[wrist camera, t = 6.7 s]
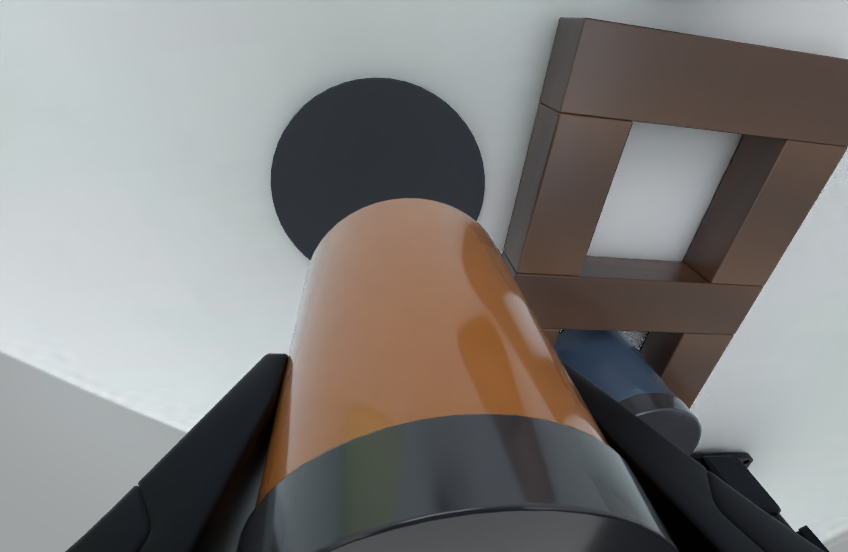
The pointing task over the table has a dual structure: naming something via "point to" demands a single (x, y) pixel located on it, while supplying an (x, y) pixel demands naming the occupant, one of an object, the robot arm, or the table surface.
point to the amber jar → (434, 408)
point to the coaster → (371, 156)
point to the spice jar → (629, 382)
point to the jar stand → (728, 212)
